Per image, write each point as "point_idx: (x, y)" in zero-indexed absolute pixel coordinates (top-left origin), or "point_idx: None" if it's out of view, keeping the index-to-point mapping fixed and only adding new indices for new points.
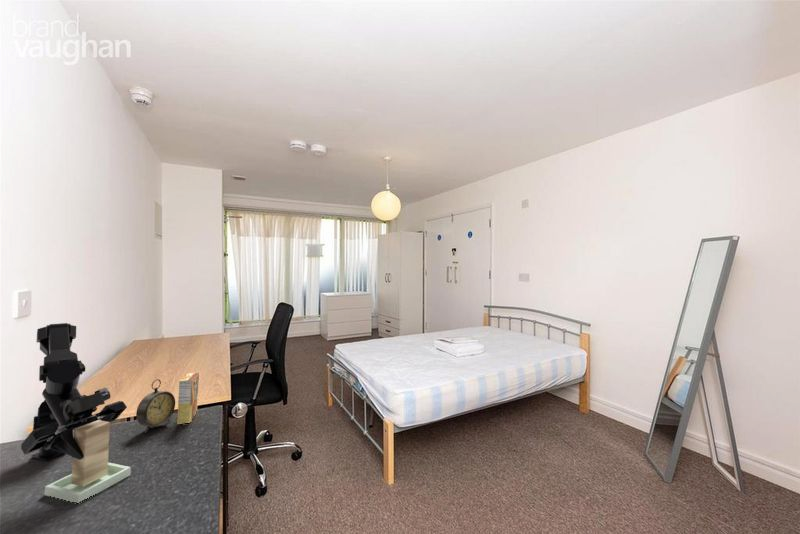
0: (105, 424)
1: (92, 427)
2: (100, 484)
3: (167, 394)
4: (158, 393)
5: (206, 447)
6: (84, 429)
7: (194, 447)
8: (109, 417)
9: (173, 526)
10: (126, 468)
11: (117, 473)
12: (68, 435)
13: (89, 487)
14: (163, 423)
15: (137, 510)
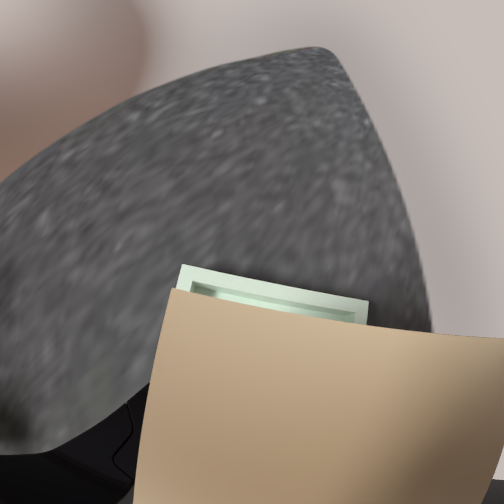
0: (272, 316)
1: (450, 403)
2: (299, 290)
3: None
4: None
5: (54, 157)
6: (495, 430)
7: (44, 189)
8: (2, 473)
9: (346, 75)
10: (193, 273)
11: (231, 280)
12: (487, 492)
13: (328, 307)
14: None
15: (336, 135)
